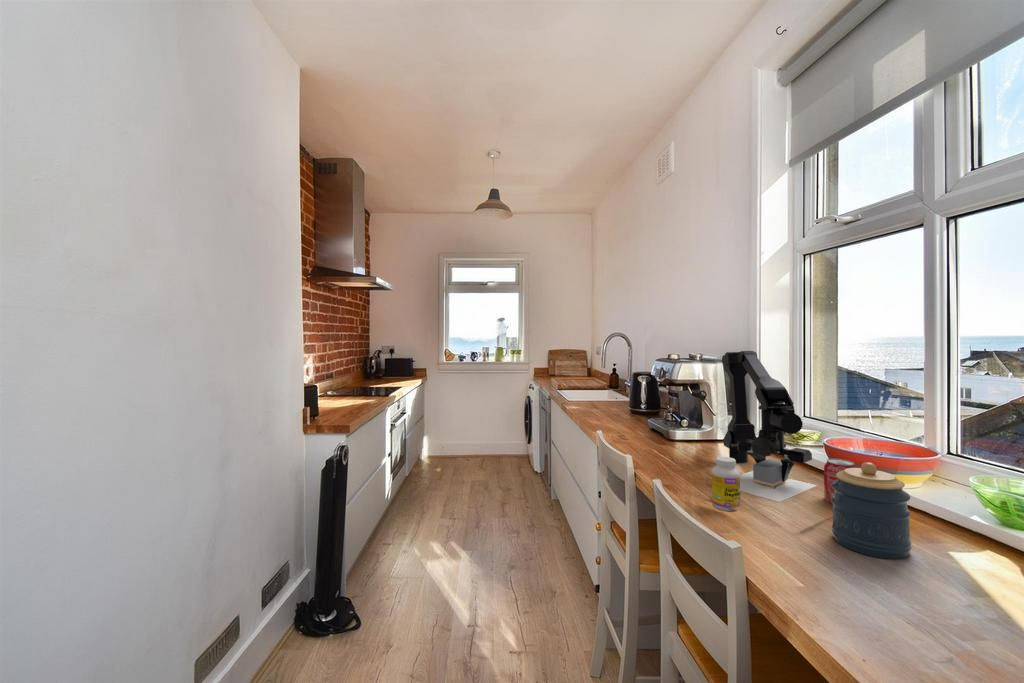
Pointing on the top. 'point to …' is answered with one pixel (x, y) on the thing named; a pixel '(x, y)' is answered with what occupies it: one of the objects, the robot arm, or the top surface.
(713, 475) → the supplement bottle
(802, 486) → the board
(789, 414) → the robot arm
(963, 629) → the top surface
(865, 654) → the top surface
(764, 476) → the block
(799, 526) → the top surface
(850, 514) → the canister
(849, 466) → the soda can
